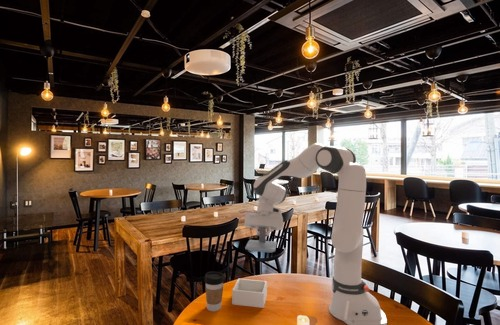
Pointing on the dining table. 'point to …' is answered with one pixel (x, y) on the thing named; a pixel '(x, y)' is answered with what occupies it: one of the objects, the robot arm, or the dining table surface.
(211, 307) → the coffee cup
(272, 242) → the lid
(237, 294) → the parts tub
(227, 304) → the dining table surface
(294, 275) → the dining table surface
